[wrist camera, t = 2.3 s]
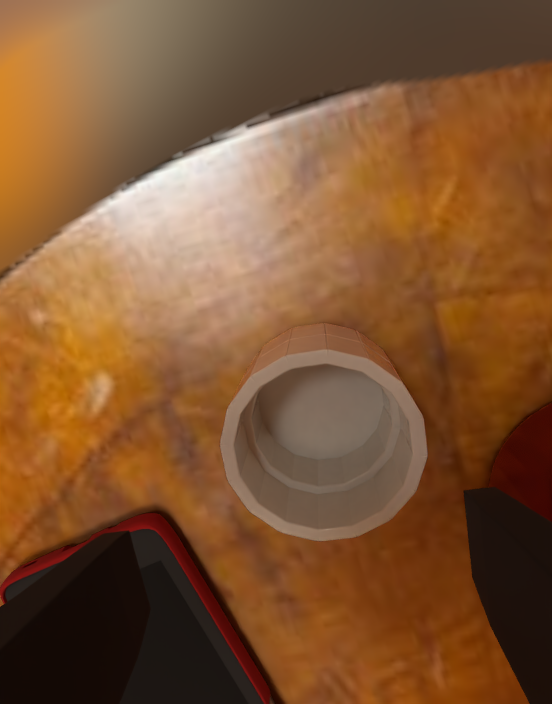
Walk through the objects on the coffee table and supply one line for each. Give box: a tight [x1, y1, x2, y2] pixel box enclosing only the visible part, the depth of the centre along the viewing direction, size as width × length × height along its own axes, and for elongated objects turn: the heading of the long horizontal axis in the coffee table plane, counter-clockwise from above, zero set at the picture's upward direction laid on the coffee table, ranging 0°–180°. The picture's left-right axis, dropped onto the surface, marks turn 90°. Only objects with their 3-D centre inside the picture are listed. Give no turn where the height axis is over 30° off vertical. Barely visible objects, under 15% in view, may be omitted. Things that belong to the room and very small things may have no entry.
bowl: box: [220, 323, 428, 541], centre depth 16 cm, size 6×6×4 cm
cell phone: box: [0, 513, 275, 704], centre depth 21 cm, size 8×15×1 cm, turn 27°
